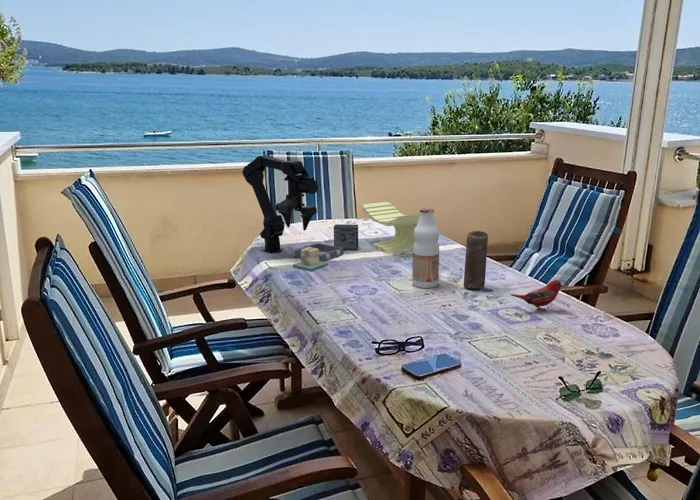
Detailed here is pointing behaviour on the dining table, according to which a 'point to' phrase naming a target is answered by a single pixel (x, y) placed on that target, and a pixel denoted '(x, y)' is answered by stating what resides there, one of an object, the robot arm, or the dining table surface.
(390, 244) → the slatted curved stool
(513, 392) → the dining table surface
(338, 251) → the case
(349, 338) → the dining table surface
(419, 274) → the fruit juice
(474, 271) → the candle
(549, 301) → the decorative bird figurine
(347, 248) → the small box
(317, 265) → the mat
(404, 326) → the dining table surface
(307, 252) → the block
